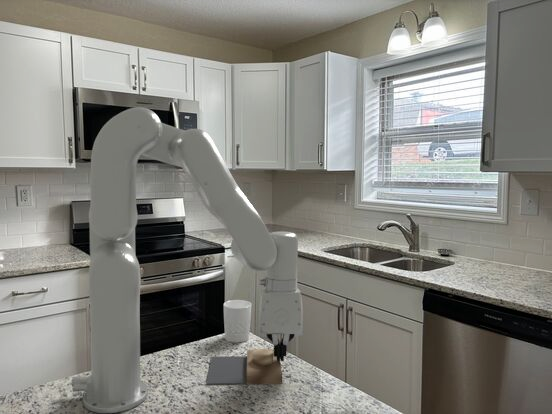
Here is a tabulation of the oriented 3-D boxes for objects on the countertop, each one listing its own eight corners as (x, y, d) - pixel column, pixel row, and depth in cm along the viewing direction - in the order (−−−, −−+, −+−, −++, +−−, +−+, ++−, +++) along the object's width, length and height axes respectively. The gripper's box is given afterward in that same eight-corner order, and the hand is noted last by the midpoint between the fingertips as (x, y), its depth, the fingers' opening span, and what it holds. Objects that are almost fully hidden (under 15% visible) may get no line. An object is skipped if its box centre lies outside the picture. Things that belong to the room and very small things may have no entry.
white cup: (217, 338, 122) (217, 304, 121) (236, 331, 128) (236, 298, 128) (238, 346, 117) (238, 310, 117) (256, 337, 124) (257, 303, 123)
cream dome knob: (251, 365, 101) (251, 356, 101) (253, 356, 106) (253, 348, 106) (272, 365, 101) (272, 357, 101) (273, 357, 106) (273, 349, 106)
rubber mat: (206, 384, 96) (206, 383, 96) (211, 357, 110) (211, 356, 110) (246, 384, 96) (246, 383, 96) (247, 357, 110) (247, 356, 110)
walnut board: (246, 384, 96) (246, 375, 96) (247, 357, 110) (247, 349, 110) (282, 383, 97) (282, 375, 96) (278, 357, 111) (278, 349, 110)
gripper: (249, 288, 98) (248, 366, 99) (314, 288, 99) (313, 365, 100) (249, 280, 105) (248, 352, 107) (310, 280, 106) (308, 352, 108)
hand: (279, 358), depth 103 cm, fingers closed
